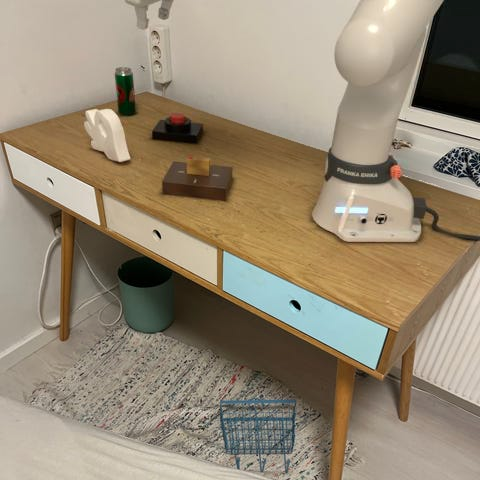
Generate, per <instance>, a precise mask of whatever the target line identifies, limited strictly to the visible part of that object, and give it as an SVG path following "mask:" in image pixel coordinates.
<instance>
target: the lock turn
mask: <svg viewBox="0 0 480 480" xmlns="http://www.w3.org/2000/svg"><path fill="white" fill-rule="evenodd" d="M186 162H187V174H193V175H203V176H209V175H210V165H211V158H210V157H209V158H207V157H200V156H199V157H198V156H194V155H187V158H186Z"/></svg>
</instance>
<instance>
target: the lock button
mask: <svg viewBox="0 0 480 480" xmlns="http://www.w3.org/2000/svg"><path fill="white" fill-rule="evenodd" d="M169 117H170V122H171V123H176V124H180V123H185V117H186V114H185V113H182V112H172V113H170V114H169Z"/></svg>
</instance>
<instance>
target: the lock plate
mask: <svg viewBox="0 0 480 480" xmlns="http://www.w3.org/2000/svg"><path fill="white" fill-rule="evenodd" d="M233 170H234V167H233V166H226V165H217V164H210V175H209V176H203V175H193V174H187V161H177V160H176V161H175V160H173V161H172V163H171V164H170V166H169V168H168V170H167V172H166V174H165V175H164V177H163V179H162V182H161V186H162V187H161V188H162V195H168V196H177V197H187V198H195V199H206V200H217V201H224V202H225V201H226V200H227V198H228V194H229V192H230V187H231V185H232V181H233ZM226 202H227V201H226Z"/></svg>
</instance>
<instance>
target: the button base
mask: <svg viewBox="0 0 480 480" xmlns="http://www.w3.org/2000/svg"><path fill="white" fill-rule="evenodd" d="M203 133H204V124H203V123H202V122H201V123H199V122H192V120H191V119H190V117H186V116H185V123H180V124H176V123H171V122H170V116H168V117H165V119H159V120H158V122H157V124H155V126H154V127H153V129H152V131H151V137H152V138H151V139H152V140H155V141H167V142H175V143H176V142H177V143H186V144H187V143H188V144H198V142H199V140H200V138H201V136H202V135H203Z"/></svg>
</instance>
